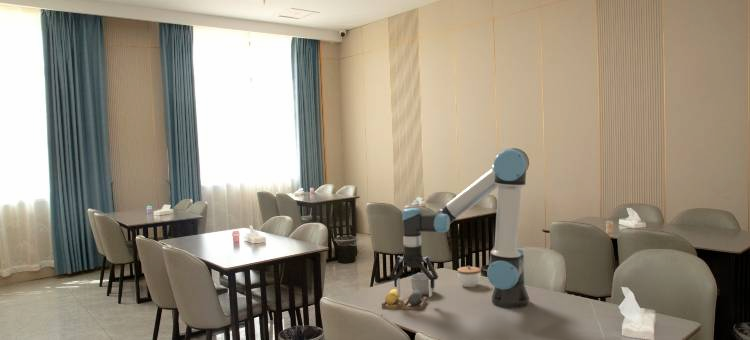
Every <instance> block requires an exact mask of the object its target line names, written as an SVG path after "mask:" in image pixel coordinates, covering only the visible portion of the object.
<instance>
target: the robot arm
mask: <svg viewBox="0 0 750 340" xmlns="http://www.w3.org/2000/svg"><path fill="white" fill-rule="evenodd" d="M529 167H530V159H529V157H528V155H527V153H526V152H525V151H523V149H520V148H514V147H513V148H507V149H506V148H505V149H504V150H502V151H501V150H500V152H499V153H497V154H496V156H495V158H494V161H493V164H492V167H491V169H490V170H488V171H487V172H485V173H484V174H483V175H481V176H480V177H479V178H478V179H477V180H475V181H474V182H473V183H471V185H469V186H468V187H467V188H465V189H464V190H463V191H461V192H460V193H458V195H456V196H455V197H453V198H452V199H451V200H450V201H449V202H448V203H446V204H445V205H443V206H442V207H441V208H440V209H438V210H436V211H435V212H433V213H421V210H420V208H418V207H417V208H416V207H411V208H410V207H409V208H404V209H403V210H402V220H401V221H402V239H403V240H402V242H403V256H400V255H397V257H396V261H395V264H394V266H393V268H392V270H391V272H390V275H389V278H390V279H393V281H394V288H396V289H397V295H400V296H401V283H400V282H401V279H400V278H399V277H400V276H401V274H402V273H403V272H404V271H405V270H406V269H407V268H409V269H410V268H412V269H415V268H416V269H417V268H419V269H420V270H421V271H422V273H425V275H426V276H427V277H428V278H429V279H430V280H429V294H428V297H429V298H431V297H432V296H433V291H432V288H434V280H435V281H436V280H438V278H439V275H438V273H437V272H436V269H435V268H434V266H433V264H432V262H431V257H430V256H429V255H427V256H425V257H423V249H422V232H423V233H425V232H426V233H427V232H428V233H431V232H432V233H447V232H448V231H449V230H450V227H451V226H450V225H451V224H452V223H453V222H454V221H456V220H457V219H458V218H459V217H460V216H461V215H464V213H466V212H468V211H469V210H471V208H472V207H474V206H475V205H476V204H478V203H479V202H481V200H483V199H484V198H485V197H486V198H487V196H489V195H490V194H491V193H493V191H495V190H496V189H497V200H496V201H497V202H496V216H495V234H494V235H495V236H494V248H492V249H491V250H490V251H489V252H490V254H489V266H488V268H487V270H486V271H487V272H486V275H487V276H486V277H487V279H488V282H489V283H490V284H491V285H492V286H493V287H494V288H493V292H492V295H491V303H492V304H493V305H494V306H497V307H500V308H507V309H517V308H518V309H519V308H523V307H524V308H525V307H527V306H529V305H530V297H529V294H528V291H527V288H526V285H525V265H524V264H525V262H524V261H525V259H524V257H525V254H524V250H523V249H522V248H519V247H518V241H519V239H518V238H519V226H520V225H519V224H520V210H521V209H520V208H521V207H520V206H521V194H522V193H521V192H522V189H523V188H524V187H525V186H526V180H527V171H528V169H529ZM402 261H403V262H404V265H403V266H402V267H401V269H399V271H398V272H397V274H396V271H397V269H398V268H399V265H400V263H402ZM423 261H424V262H425V263H426V264H427V267H428V269H429V270H430V271H429V270H428V269H427V268H426V267H425V265H424V263H423ZM430 273H431V274H432V275H433V276H432V275H431V274H430ZM434 289H435V288H434Z"/></svg>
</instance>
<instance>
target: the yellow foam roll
mask: <svg viewBox="0 0 750 340" xmlns="http://www.w3.org/2000/svg"><path fill="white" fill-rule="evenodd" d="M400 296H401V294H400V295H397V288H393V289H391V290H390V291H389V292H388V293H387V294H386V296H385V297H384V300H385V301H386V303H387V304H390V305H392V304H394V303H395V302H396V300H397V299H398V298H400Z"/></svg>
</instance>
